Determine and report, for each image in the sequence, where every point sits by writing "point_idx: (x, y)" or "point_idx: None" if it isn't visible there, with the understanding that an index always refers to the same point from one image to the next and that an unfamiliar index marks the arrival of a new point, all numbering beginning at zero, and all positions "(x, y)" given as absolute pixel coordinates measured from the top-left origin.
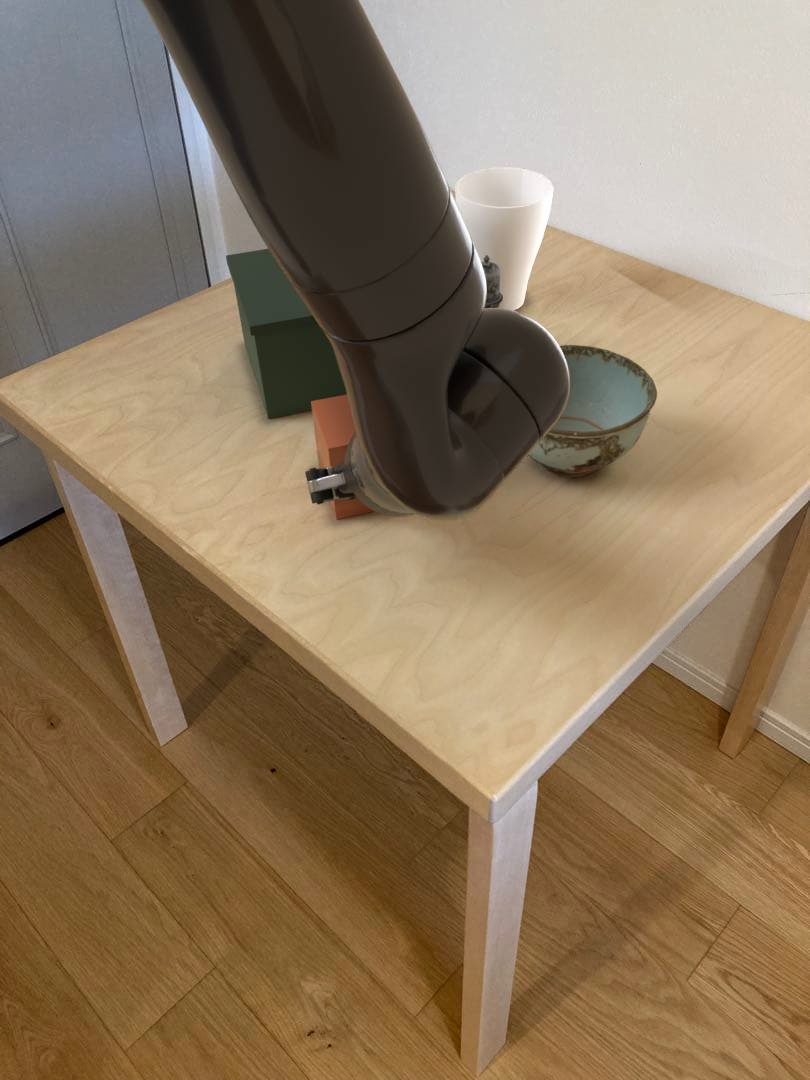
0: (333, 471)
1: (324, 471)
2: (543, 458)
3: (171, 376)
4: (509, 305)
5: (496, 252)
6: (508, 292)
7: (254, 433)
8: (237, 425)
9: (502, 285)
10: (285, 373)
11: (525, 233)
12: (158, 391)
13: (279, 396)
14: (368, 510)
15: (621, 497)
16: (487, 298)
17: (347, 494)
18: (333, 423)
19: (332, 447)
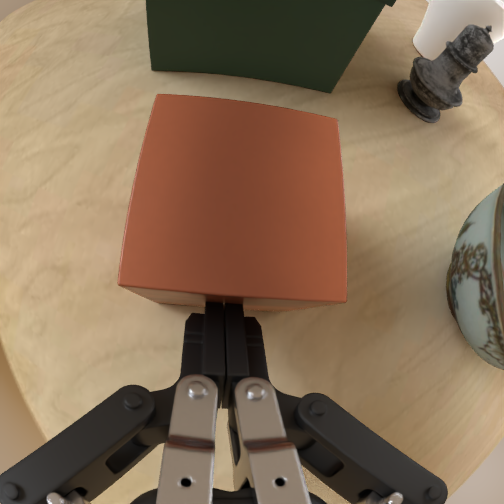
0: (75, 479)
1: (43, 501)
2: (471, 342)
3: (100, 8)
4: None
5: (466, 25)
6: None
7: (124, 87)
8: (113, 71)
9: None
10: (182, 21)
11: (496, 32)
12: (78, 21)
13: (169, 48)
14: None
15: (480, 368)
16: (470, 61)
17: (122, 473)
18: (169, 185)
19: (129, 284)
